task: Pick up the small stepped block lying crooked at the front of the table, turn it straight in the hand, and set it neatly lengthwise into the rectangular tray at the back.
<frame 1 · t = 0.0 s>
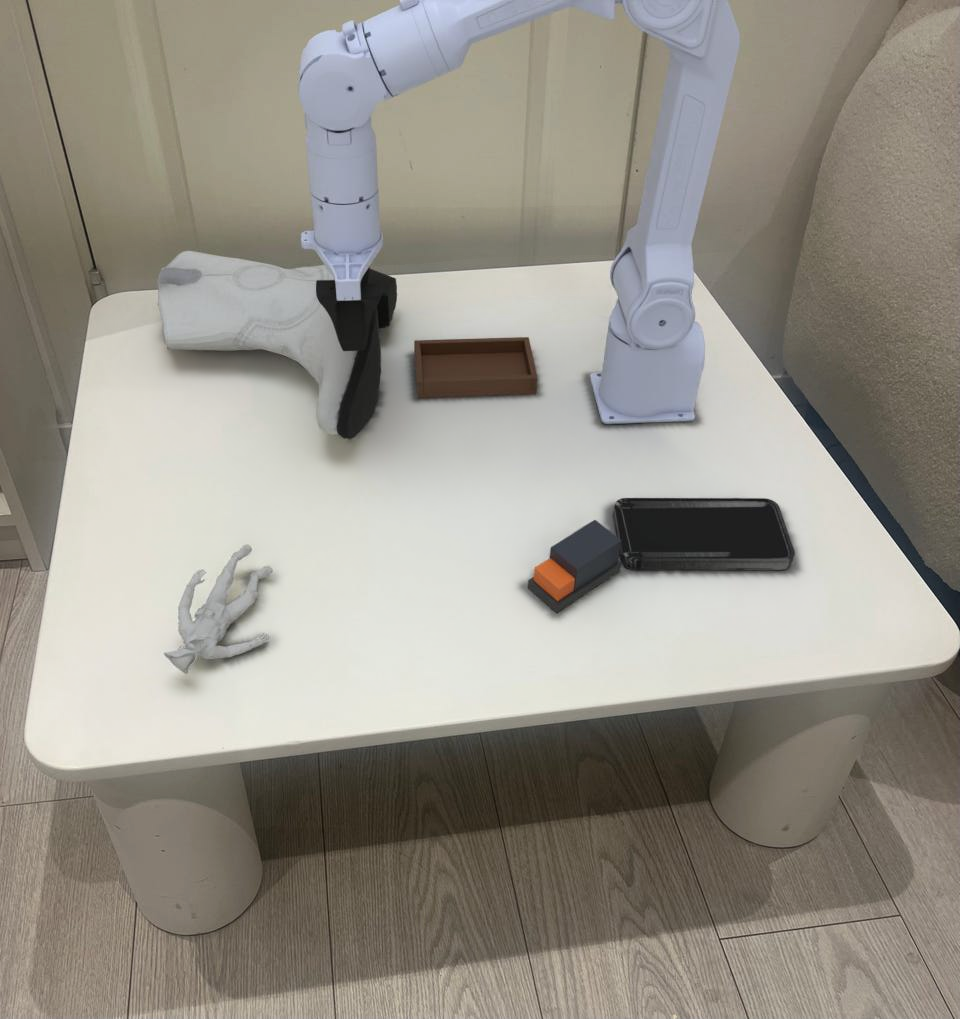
hand: (353, 324, 95), 10 cm above the table, tool pointing down, fingers open, 7 cm apart
phone: (700, 539, 90), on the table
rectangular tray: (474, 374, 106), on the table
stepped block: (574, 579, 86), on the table
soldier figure: (225, 626, 82), on the table
cowboy boot: (267, 371, 106), on the table
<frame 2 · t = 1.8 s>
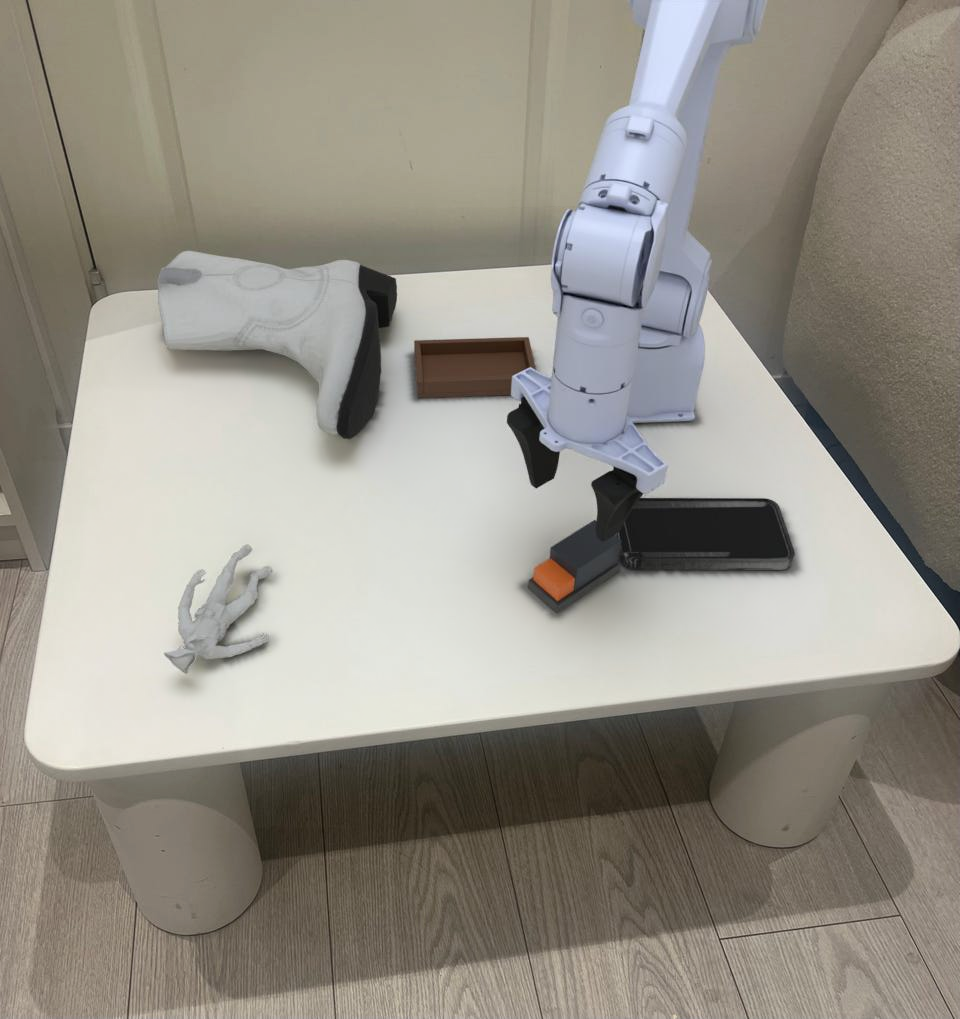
hand: (574, 507, 81), 8 cm above the table, tool pointing down, fingers open, 7 cm apart
nothing on the table moved.
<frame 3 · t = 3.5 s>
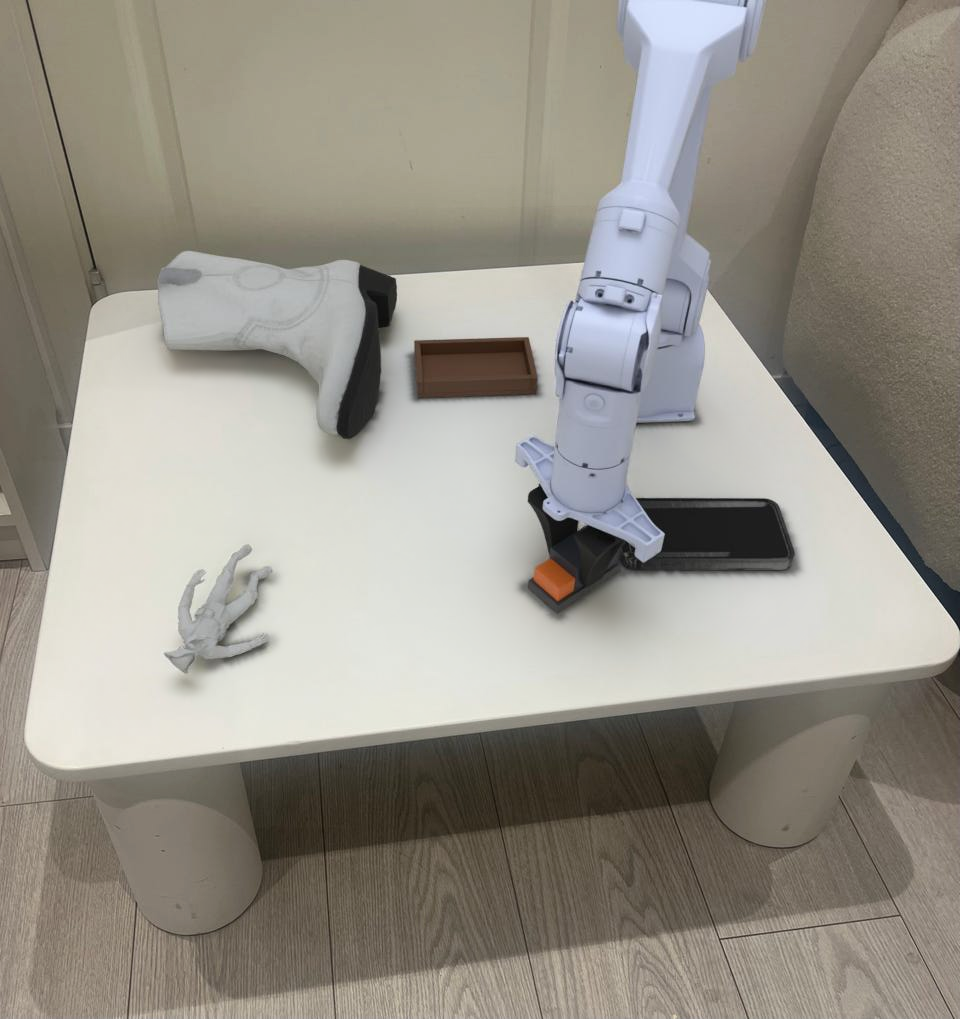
hand: (576, 566, 85), 2 cm above the table, tool pointing down, fingers closed on stepped block, 3 cm apart
stepped block: (574, 579, 86), on the table, touching gripper
everything else where it was.
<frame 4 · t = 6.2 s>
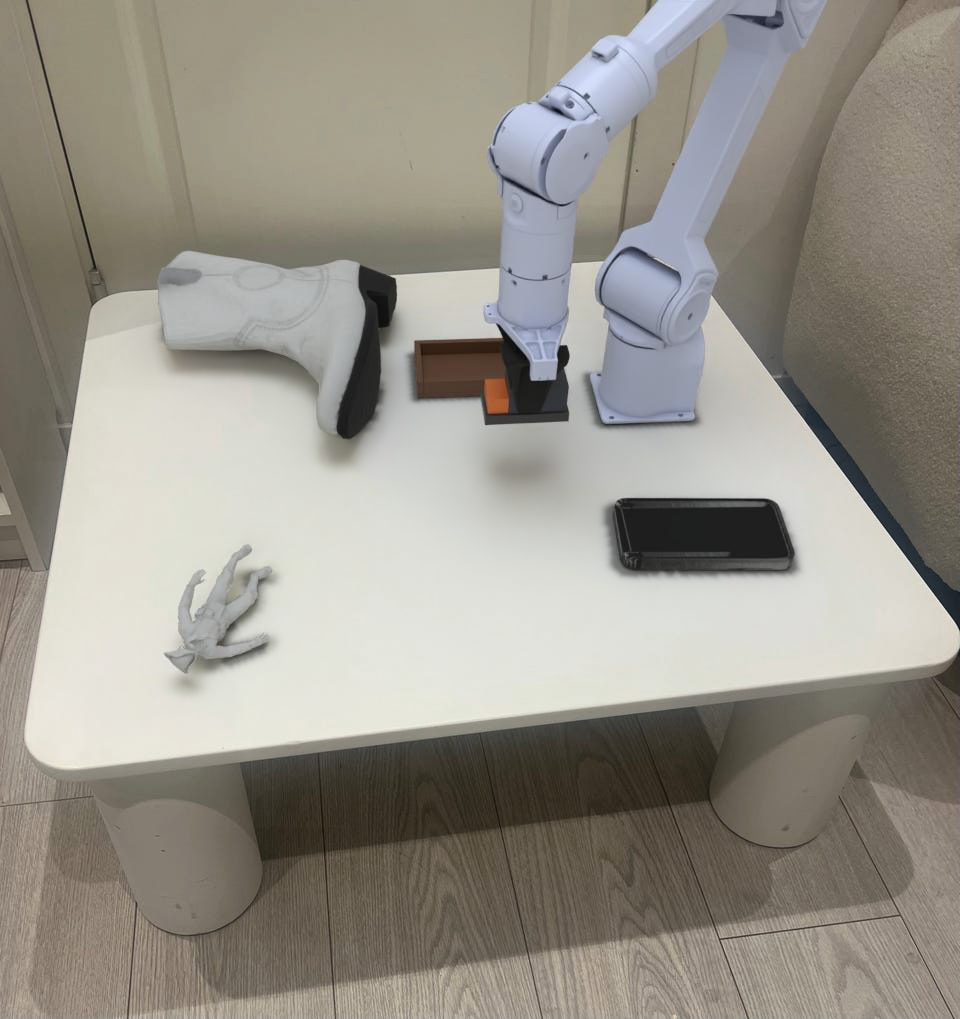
hand: (525, 396, 90), 9 cm above the table, tool pointing down, fingers closed on stepped block, 3 cm apart
stepped block: (524, 410, 91), point 7 cm above the table, touching gripper
everything else where it was.
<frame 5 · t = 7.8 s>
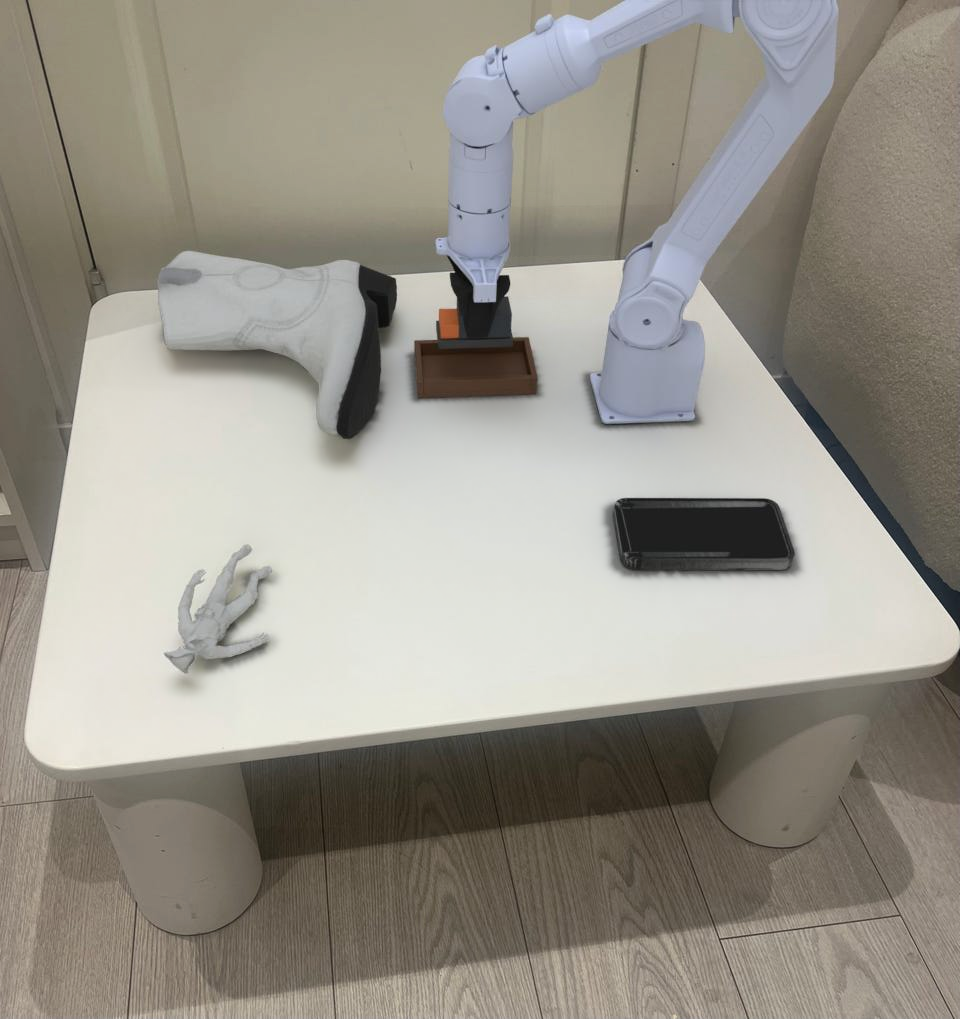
hand: (475, 324, 102), 6 cm above the table, tool pointing down, fingers closed on stepped block, 3 cm apart
stepped block: (474, 337, 103), point 5 cm above the table, touching gripper
everything else where it was.
when the fingers open (2 cm above the table, at t = 9.1 s): stepped block stays where it is, resting on rectangular tray.
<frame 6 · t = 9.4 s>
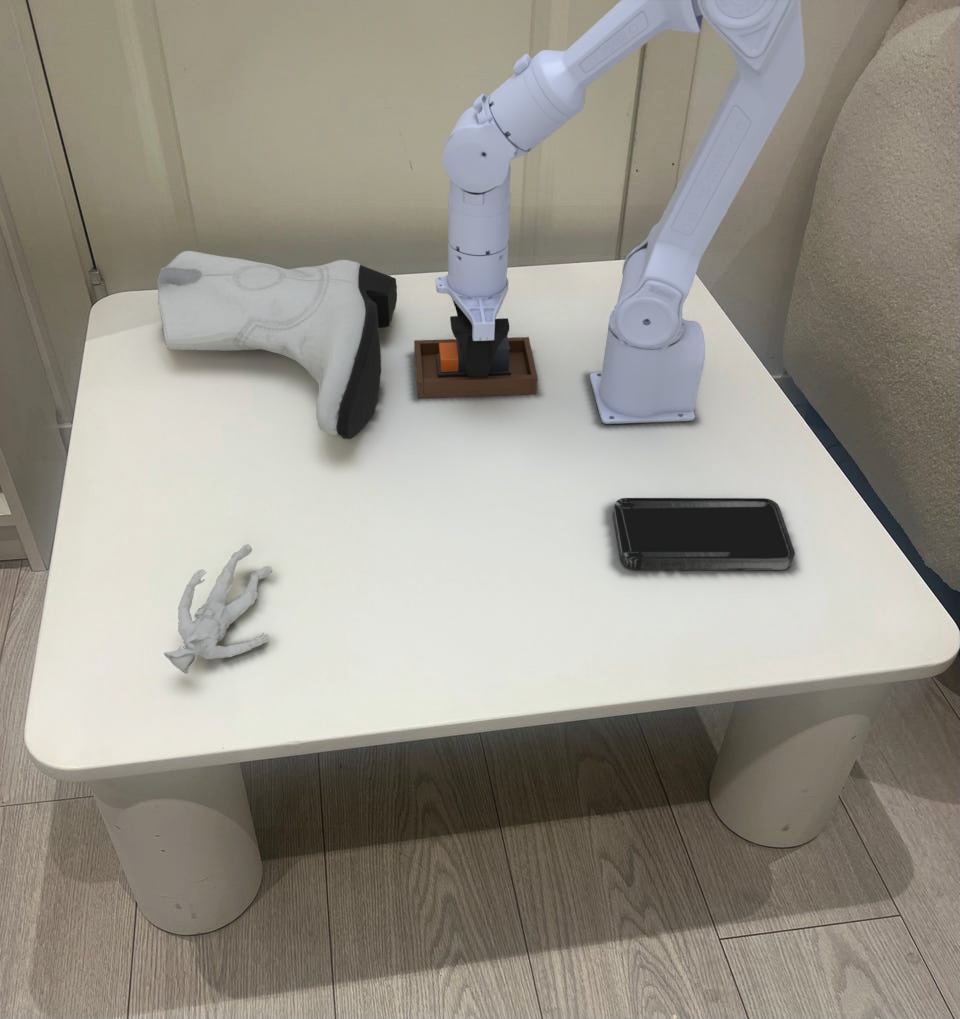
hand: (474, 358, 105), 2 cm above the table, tool pointing down, fingers open, 5 cm apart
stepped block: (473, 370, 106), point 1 cm above the table, touching rectangular tray
everything else where it was.
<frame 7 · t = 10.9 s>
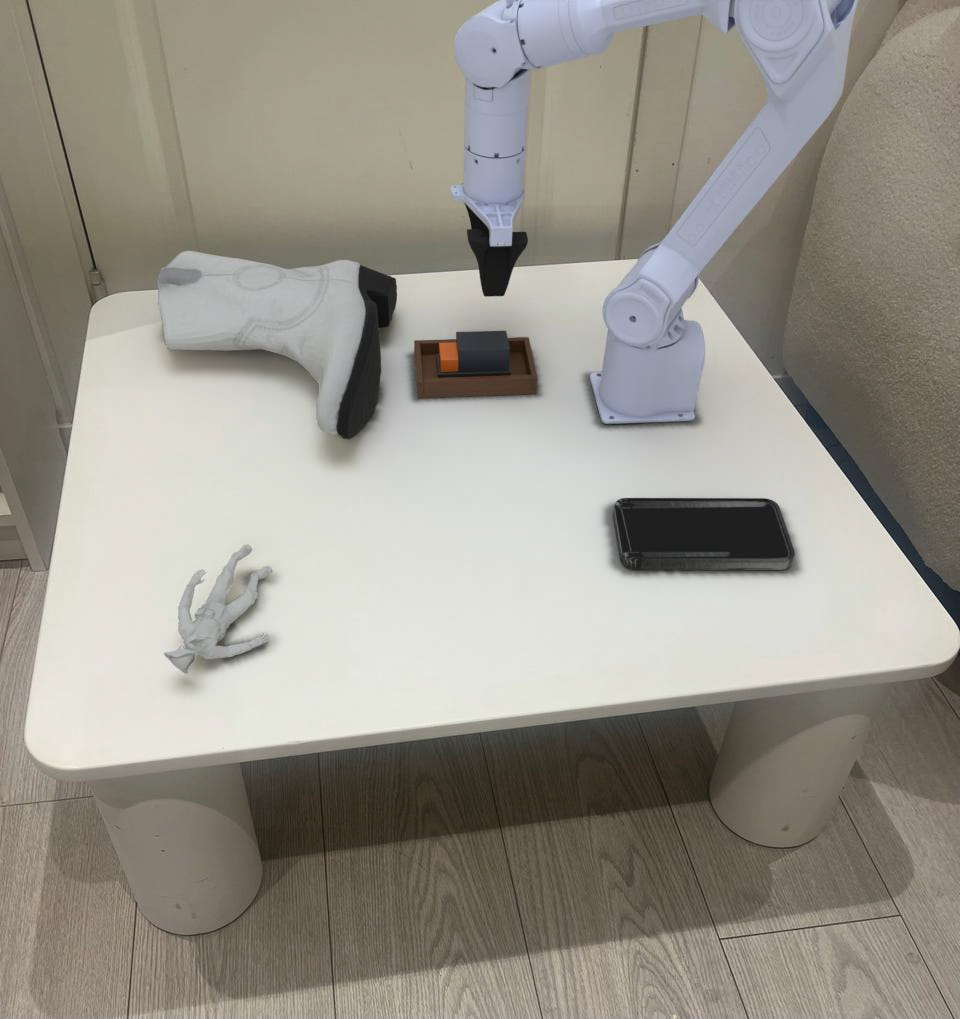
hand: (489, 273, 103), 9 cm above the table, tool pointing down, fingers open, 7 cm apart
nothing on the table moved.
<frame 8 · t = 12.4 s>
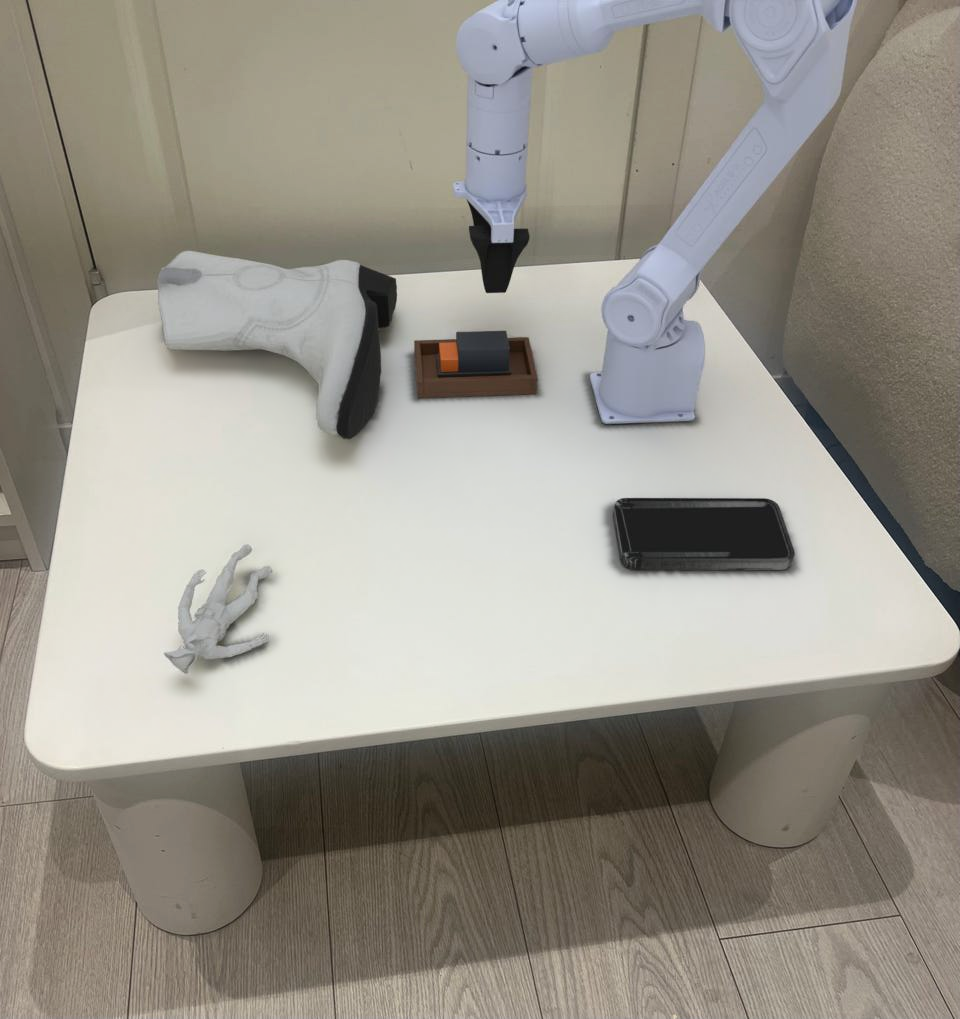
hand: (491, 270, 103), 9 cm above the table, tool pointing down, fingers open, 7 cm apart
nothing on the table moved.
at the end: stepped block 0.1 cm off-centre in the rectangular tray, point 0.6 cm above the rectangular tray's base; stepped block tilted 0°; the gripper is holding nothing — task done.
